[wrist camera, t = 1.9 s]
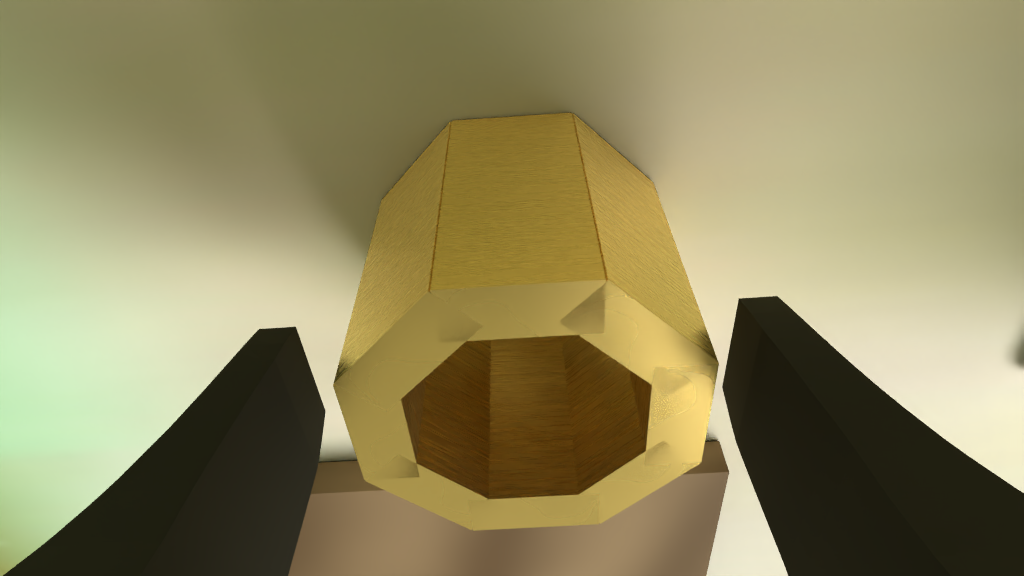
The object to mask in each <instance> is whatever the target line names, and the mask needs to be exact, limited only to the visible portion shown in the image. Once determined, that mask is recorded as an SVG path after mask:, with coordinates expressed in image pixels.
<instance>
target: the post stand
mask: <svg viewBox="0 0 1024 576" xmlns="http://www.w3.org/2000/svg"><path fill="white" fill-rule="evenodd" d="M728 475H729V470H728V467H727V464H726V461H725V458H724V455H723V452H722V449H721V445H720V442H719V441H713V442H705V444H704V450H703V456H702V461H701V462H700V464H699V465H697V466H695V467H694V468H692V469H690V470H689V471H687V472H686V473H684V474H682V475H681V476H679V477H677V478H676V479H674V480H672V481H671V482H669V483H667V484H666V485H664V486H662V487H661V488H659V489H657V490H656V491H654V492H652V493H651V494H649V495H647V496H646V497H644V498H642V499H641V500H639V501H638V502H636V503H634V504H633V505H631V506H629V507H628V508H626V509H624V510H623V511H621V512H619V513H618V514H616V515H614V516H613V517H611V518H609V519H608V520H606V521H604V522H603V523H601V524H600V523H599V524H593V525H574V526H554V527H534V528H515V529H495V530H475V531H473V530H470V529H468V528H465V527H463V526H461V525H459V524H457V523H455V522H452V521H450V520H448V519H446V518H444V517H442V516H439V515H437V514H435V513H433V512H431V511H429V510H426V509H424V508H422V507H420V506H418V505H416V504H414V503H411V502H409V501H407V500H405V499H403V498H401V497H398V496H396V495H394V494H392V493H390V492H388V491H385V490H383V489H381V488H379V487H377V486H375V485H373V484H370V483H368V482H366V480H364V477H363V474H362V471H361V468H360V465H359V462H358V461H341V462H323V463H318V468H317V472H316V476H315V480H314V483H313V487H312V491H311V495H310V498H309V502H308V506H307V509H306V513H305V517H304V520H303V524H302V528H301V531H300V535H299V538H298V542H297V545H296V549H295V553H294V556H293V560H292V563H291V567H290V571H289V574H288V576H706V574H707V569H708V565H709V560H710V556H711V551H712V547H713V542H714V538H715V533H716V529H717V524H718V520H719V515H720V511H721V506H722V502H723V497H724V493H725V488H726V484H727V479H728Z"/></svg>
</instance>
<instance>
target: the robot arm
mask: <svg viewBox="0 0 1024 576" xmlns="http://www.w3.org/2000/svg"><path fill="white" fill-rule="evenodd" d="M722 387H723V391H724V396H725V400H726V404H727V408H728V412H729V416H730V420H731V424H732V428H733V432H734V435H735V439H736V443H737V445H738V448H739V451H740V453H741V456H742V459H743V461H744V464H745V466H746V469H747V472H748V474H749V477H750V479H751V482H752V484H753V487H754V489H755V492H756V494H757V497H758V499H759V502H760V505H761V507H762V510H763V512H764V515H765V517H766V520H767V522H768V525H769V527H770V530H771V532H772V535H773V537H774V540H775V542H776V545H777V547H778V550H779V552H780V555H781V557H782V560H783V562H784V565H785V567H786V570H787V573H788V576H1024V493H1022V492H1021V491H1019V490H1018V489H1016V488H1015V487H1013V486H1012V485H1010V484H1009V483H1007V482H1006V481H1004V480H1003V479H1001V478H1000V477H998V476H997V475H995V474H994V473H992V472H991V471H989V470H988V469H986V468H985V467H984V466H982V465H981V464H979V463H978V462H976V461H975V460H973V459H972V458H970V457H969V456H967V455H966V454H964V453H963V452H962V451H960V450H959V449H958V448H956V447H955V446H953V445H952V444H951V443H949V442H948V441H946V440H945V439H944V438H942V437H941V436H940V435H939V434H937V433H936V432H935V431H933V430H932V429H931V428H929V427H928V426H927V425H926V424H924V423H923V422H922V421H920V420H919V419H918V418H917V417H915V416H914V415H913V414H911V413H910V412H909V411H907V410H906V409H905V408H904V407H902V406H901V405H900V404H899V403H897V402H896V401H895V400H894V399H893V398H891V397H890V396H889V395H888V394H886V393H885V392H884V391H883V390H882V389H880V388H879V387H878V386H877V385H876V384H874V383H873V382H872V381H871V380H870V379H869V378H867V377H866V376H865V375H864V374H863V373H862V372H861V371H859V370H858V369H857V368H856V367H855V366H854V365H852V364H851V363H850V362H849V361H848V360H847V359H846V358H845V357H843V356H842V355H841V354H840V353H839V352H838V351H837V350H836V349H835V348H833V347H832V346H831V345H830V344H829V343H828V342H827V341H826V340H825V339H823V338H822V337H821V336H820V335H819V334H818V333H817V332H816V331H815V330H814V329H813V328H811V327H810V326H809V325H808V324H807V323H806V322H805V321H804V320H803V319H802V318H801V317H800V316H798V315H797V314H796V313H795V312H794V311H793V310H792V309H791V308H790V307H789V306H788V305H787V304H785V303H784V302H783V301H782V300H781V299H780V298H779V297H778V296H773V297H757V298H742V299H739V301H738V307H737V312H736V317H735V323H734V328H733V333H732V338H731V344H730V349H729V354H728V360H727V365H726V370H725V376H724V381H723V386H722ZM324 418H325V408H324V406H323V403H322V400H321V397H320V394H319V392H318V389H317V386H316V383H315V380H314V377H313V375H312V372H311V369H310V366H309V363H308V360H307V358H306V355H305V352H304V349H303V346H302V343H301V341H300V338H299V335H298V332H297V329H296V327H286V328H271V329H259V330H258V331H257V332H256V333H255V334H254V335H253V336H252V337H251V338H250V339H249V341H248V342H247V343H246V344H245V345H244V346H243V347H242V348H241V349H240V351H239V352H238V353H237V354H236V355H235V356H234V357H233V358H232V360H231V361H230V362H229V363H228V364H227V365H226V366H225V367H224V369H223V370H222V371H221V372H220V373H219V374H218V375H217V376H216V377H215V379H214V380H213V381H212V382H211V383H210V384H209V385H208V386H207V388H206V389H205V390H204V391H203V392H202V393H201V394H200V395H199V396H198V397H197V399H196V400H195V401H194V402H193V403H192V404H191V405H190V406H189V407H188V408H187V409H186V410H185V412H184V413H183V414H182V415H181V416H180V417H179V418H178V419H177V420H176V421H175V422H174V423H173V425H172V426H171V427H170V428H169V429H168V430H167V431H166V432H165V433H164V434H163V435H162V436H161V437H160V438H159V439H158V440H157V441H156V442H155V443H154V444H153V445H152V446H151V447H150V448H149V449H148V450H147V451H146V452H145V453H144V454H143V455H142V456H141V457H140V458H139V459H138V460H137V461H136V462H135V463H134V464H133V465H132V466H131V467H130V468H129V469H128V470H127V471H126V472H125V473H124V474H123V475H122V476H121V477H120V478H119V479H118V480H116V481H115V482H114V483H113V484H112V485H111V486H110V487H109V488H108V489H107V490H106V491H105V492H104V493H102V494H101V495H100V496H99V497H98V498H97V499H96V500H95V501H94V502H92V503H91V504H90V505H89V506H88V507H87V508H86V509H85V510H83V511H82V512H81V513H80V514H79V515H78V516H76V517H75V518H74V519H73V520H72V521H71V522H69V523H68V524H67V525H66V526H65V527H64V528H62V529H61V530H60V531H59V532H58V533H57V534H55V535H54V536H53V537H52V538H51V539H49V540H48V541H47V542H46V543H44V544H43V545H42V546H41V547H40V548H38V549H37V550H36V551H34V552H33V553H32V554H30V555H29V556H28V557H27V558H25V559H24V560H23V561H21V562H20V563H19V564H17V565H16V566H15V567H14V568H12V569H11V570H10V571H8V572H7V573H6V574H5V575H3V576H288V574H289V571H290V567H291V563H292V560H293V556H294V553H295V549H296V545H297V542H298V538H299V535H300V531H301V528H302V524H303V520H304V517H305V513H306V509H307V506H308V502H309V498H310V495H311V491H312V487H313V483H314V480H315V476H316V472H317V468H318V462H319V455H320V449H321V442H322V434H323V426H324Z"/></svg>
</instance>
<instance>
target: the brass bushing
mask: <svg viewBox="0 0 1024 576" xmlns="http://www.w3.org/2000/svg"><path fill="white" fill-rule="evenodd" d="M718 365H719V363H718V360H717V357H716V355H715V352H714V349H713V346H712V344H711V341H710V338H709V335H708V333H707V330H706V327H705V324H704V321H703V319H702V316H701V313H700V310H699V308H698V305H697V302H696V299H695V297H694V294H693V291H692V288H691V286H690V283H689V280H688V277H687V275H686V272H685V269H684V266H683V264H682V261H681V258H680V255H679V252H678V250H677V247H676V244H675V241H674V239H673V236H672V233H671V230H670V228H669V225H668V222H667V219H666V217H665V214H664V211H663V208H662V206H661V203H660V200H659V197H658V195H657V192H656V189H655V186H654V184H653V182H652V181H651V180H650V179H649V178H647V177H646V176H645V175H644V174H643V173H642V172H640V171H639V170H638V169H637V168H636V167H635V166H634V165H632V164H631V163H630V162H629V161H628V160H627V159H626V158H624V157H623V156H622V155H621V154H620V153H619V152H617V151H616V150H615V149H614V148H613V147H612V146H611V145H609V144H608V143H607V142H606V141H605V140H604V139H602V138H601V137H600V136H599V135H598V134H597V133H596V132H594V131H593V130H592V129H591V128H590V127H589V126H588V125H586V124H585V123H584V122H583V121H582V120H581V119H579V118H578V117H577V116H576V115H575V114H574V113H573V114H572V113H558V114H543V115H528V116H513V117H498V118H484V119H469V120H454V121H452V122H449V123H448V124H447V126H446V127H445V128H444V129H443V130H442V131H441V132H440V134H439V135H438V136H437V137H436V138H435V139H434V140H433V142H432V143H431V144H430V145H429V146H428V147H427V149H426V150H425V151H424V152H423V153H422V154H421V155H420V157H419V158H418V159H417V160H416V161H415V162H414V163H413V165H412V166H411V167H410V168H409V169H408V170H407V171H406V173H405V174H404V175H403V176H402V177H401V178H400V179H399V181H398V182H397V183H396V184H395V185H394V186H393V187H392V189H391V190H390V191H389V192H388V193H387V194H386V196H385V197H384V198H383V199H382V201H381V204H380V208H379V212H378V216H377V220H376V224H375V227H374V231H373V235H372V239H371V243H370V247H369V250H368V254H367V258H366V262H365V266H364V270H363V273H362V277H361V281H360V285H359V289H358V293H357V296H356V300H355V304H354V308H353V312H352V315H351V319H350V323H349V327H348V331H347V335H346V338H345V342H344V346H343V350H342V354H341V358H340V361H339V365H338V369H337V373H336V377H335V381H334V384H333V387H334V390H335V393H336V396H337V399H338V402H339V405H340V408H341V411H342V414H343V417H344V420H345V423H346V426H347V429H348V432H349V435H350V438H351V441H352V444H353V447H354V450H355V453H356V456H357V459H358V462H359V465H360V468H361V471H362V474H363V477H364V480H366V482H368V483H370V484H373V485H375V486H377V487H379V488H381V489H383V490H385V491H388V492H390V493H392V494H394V495H396V496H398V497H401V498H403V499H405V500H407V501H409V502H411V503H414V504H416V505H418V506H420V507H422V508H424V509H426V510H429V511H431V512H433V513H435V514H437V515H439V516H442V517H444V518H446V519H448V520H450V521H452V522H455V523H457V524H459V525H461V526H463V527H465V528H468V529H470V530H473V531H475V530H495V529H515V528H534V527H554V526H574V525H593V524H599V523H600V524H601V523H603V522H604V521H606V520H608V519H609V518H611V517H613V516H614V515H616V514H618V513H619V512H621V511H623V510H624V509H626V508H628V507H629V506H631V505H633V504H634V503H636V502H638V501H639V500H641V499H642V498H644V497H646V496H647V495H649V494H651V493H652V492H654V491H656V490H657V489H659V488H661V487H662V486H664V485H666V484H667V483H669V482H671V481H672V480H674V479H676V478H677V477H679V476H681V475H682V474H684V473H686V472H687V471H689V470H690V469H692V468H694V467H695V466H697V465H699V464H700V462H701V461H702V456H703V450H704V444H705V439H706V433H707V428H708V422H709V416H710V411H711V405H712V399H713V394H714V388H715V382H716V377H717V371H718Z"/></svg>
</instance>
